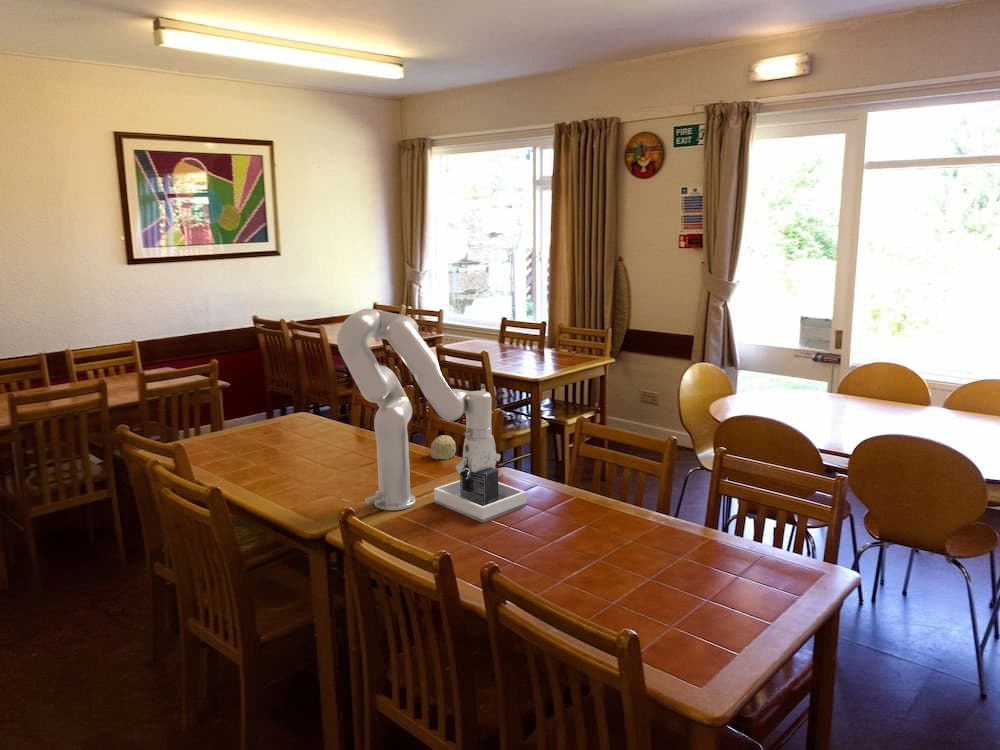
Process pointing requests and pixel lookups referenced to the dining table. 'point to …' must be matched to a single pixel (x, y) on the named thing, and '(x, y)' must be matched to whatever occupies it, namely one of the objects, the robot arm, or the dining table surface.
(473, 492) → the small box
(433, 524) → the dining table surface
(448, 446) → the decorative object
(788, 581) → the dining table surface
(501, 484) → the bin
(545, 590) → the dining table surface
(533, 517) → the dining table surface
